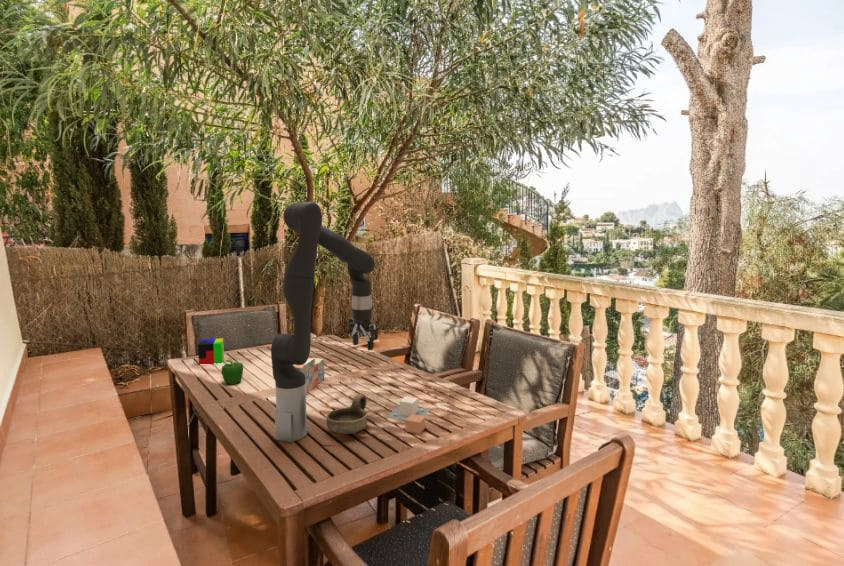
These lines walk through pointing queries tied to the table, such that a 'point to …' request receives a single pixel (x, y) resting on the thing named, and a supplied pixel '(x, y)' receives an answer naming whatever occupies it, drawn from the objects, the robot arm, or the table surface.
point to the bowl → (349, 417)
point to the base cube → (408, 406)
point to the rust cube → (415, 423)
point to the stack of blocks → (312, 372)
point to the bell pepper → (232, 372)
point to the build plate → (396, 415)
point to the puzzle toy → (211, 351)
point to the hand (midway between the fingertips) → (363, 347)
